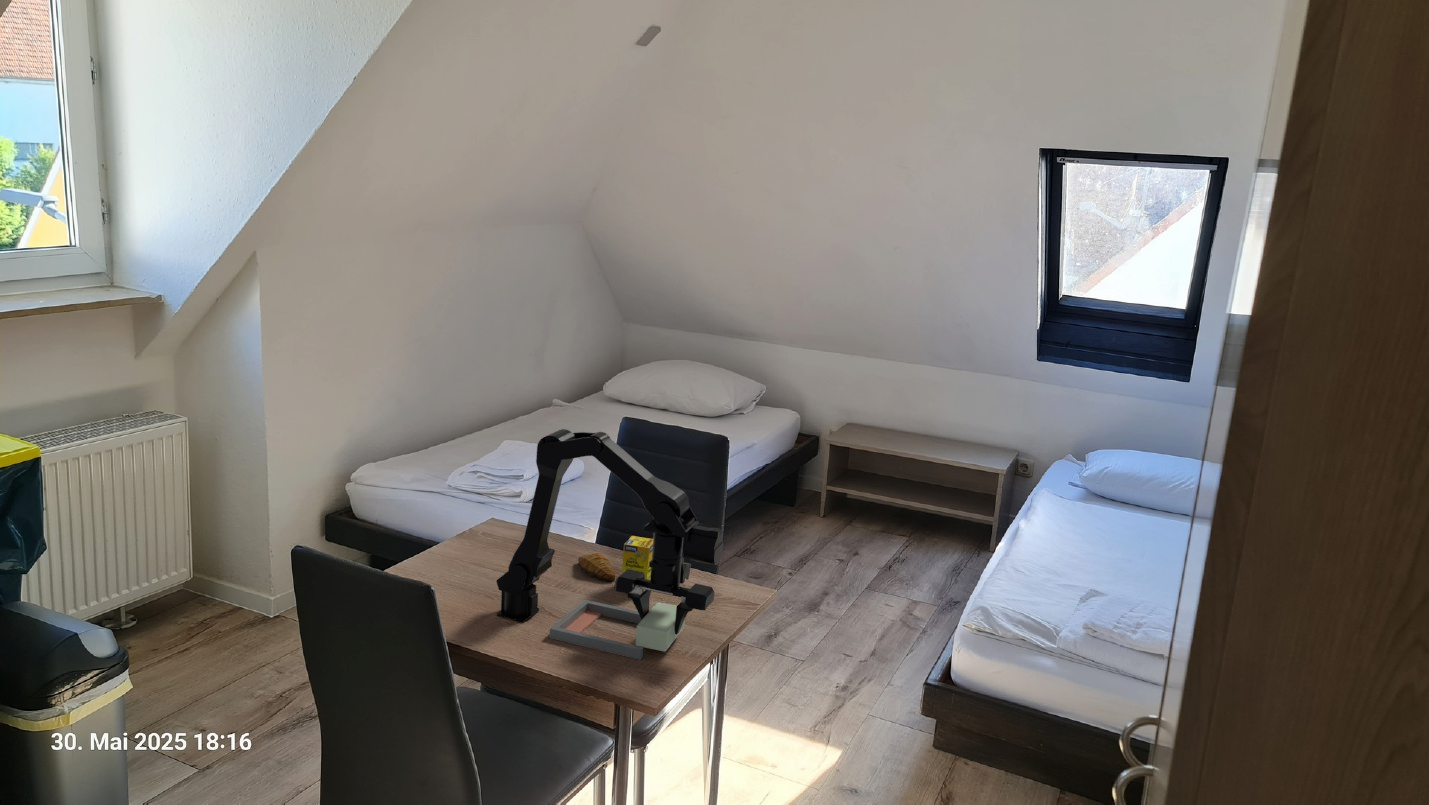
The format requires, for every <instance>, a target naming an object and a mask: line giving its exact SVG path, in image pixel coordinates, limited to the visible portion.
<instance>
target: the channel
mask: <svg viewBox="0 0 1429 805" xmlns="http://www.w3.org/2000/svg"><path fill="white" fill-rule="evenodd" d="M601 616H604V617H608V618H613V619H617V620H619V621H626V622H628V623H629V622H630V623H634V624H637V625H638V624H639V623H640V622H641V621H642V620H641V618H640V615H639V613H638V611H637V610H633V609H628V608H624V607H621V606H614V605H611V604H607V603H602V602H599V601H592V600H589V599H584V600H583V601H582V602H581V603H579V604H578V605H577V606H576V607H575V608H574V609H572V610H570V612H568V613H567V614H566V615H565V616H563V617H562V618H561V619H560V620H558V621H557V622H555V624H553V625H552V626H551V627H549V634H548V635H549V636H548V637H549V639H551V638H552V640H557V641H560V642H565V643H568V644H573V645H576V646H581V647H585V648H589V649H594V650H598V651H601V652H606V653H610V654H615V655H619V656H623V657H626V658H631V659H635V660H639V661H640V660H642V658H643V656H644V647H641V646H636V645H634V644H630V643H626V642H621V641H616V640H612V639H610V638H609V639H608V638H605V637H599V636H596V635H592V634H587V633H584V631H585V630H586V629H587V628H589V627H590V626H591V625H592V624H593V623H595V621H596V620H598V619H599V618H600V617H601Z"/></svg>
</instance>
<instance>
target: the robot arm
mask: <svg viewBox="0 0 1429 805" xmlns="http://www.w3.org/2000/svg"><path fill="white" fill-rule="evenodd" d="M535 456H536V458H535V463H536V467H537V472H538V477H537V482H536V486H535V490H534V495H533V500H532V502H531V507H530V511H529V515H528V518H527V523H526V527H525V532H524V536H523V539H522V541H521V542H520V544H519V545H518V547H517V548H516V550H515V551H514V554H512V558H511V561H510V562H509V564H508V571H507V572H504V574H502V575H501V576H500V577H499V578H497V579H496V580H495V581H496V586H497V589H498V590H499V591H501V594H500V595H501V597H500V598H501V600H500V610H498V611H497V612H496V616H497V617H501V618H504V619H505V618H506V619H509V620H513V621H516V622H517V621H518V622H526V621H527V620H529V619H530V618H532V617H533V616H535V614H537V613H538V612H540V608H539V607H538V602H539V593H538V592H537V584H534V583H536V582H537V581H539V580H540V578H541V576H542V575H544V574H545V573H546V572H547V571H548V570H549V569H550V568H551V567H553V565H552V561H553V556H554V555H555V552H556V549H554V548H550V547H549V542H548V537H549V533H550V530H551V525H552V521H553V518H554V517H553V516H554V515H555V514H554V513H555V509H556V505H557V501H558V498H559V493H560V489H561V485H562V481H563V477H564V476H565V474H566V473H567V471H568V470H569V467H570V466H571V464H572V462H573V460H574V459H576V458H577V459H578V458H584V457H593V458H595V459H596V460H597V461H598V462H599V463H600V464H601V465H603V466H604V467H605V468H606V469H607V470H608V471H610V472H611V473H612V474H613V475H614V476H616V477H617V479H619V480H620V481H621V482H622V483H623V484H624V485H626V486H627V487H628V488H630V489H631V491H633V492H634V493H635V494H636V495H637V496H638V498H640V500H641V502H642V504H643V506H644V509H645V510H646V512H648V514H649V515H650V516H651V517H652V519H651V520H650V521H649V522H648V523H647V524H645V525H644V526H643V528H642V530H643V531H646V532H650V533H653V537H652V539H653V550H652V560H651V561H650V562H649V567H651V578H650V580H647V579H645V574H644V572H640V571H635V570H630V569H627V570H626V571H625V572H624V573H622V572H621V574H620V575H619V576H617V577H615V581H614V591H615V592H617V593H622V594H625V595H626V596H627V599H630V600H631V602H632V603H633V605H634V607H635V609H636V611H638V613H639V615H640V618H641V620H642V619H643V618H644V617H645V616H646V615H647V614H648V613H649V611H650V599H651V598H650V597H651V592H654V593H660V594H664V595H668V596H673V597H678V598H680V600H681V601H680V602H679V604H677V605H676V606H677V607H676V619H675V634H676V635H677V634H678V633H679V631H680V629H681V627H682V624H683V622H684V620H685V621H686V617H687V615H688V613H690V612H692V611H693V610H694V609H695V610H699V611H706V609H707V608H708V607H709V606H710V605H711V604H712V603H713V602H714V600H715V589H714V588H713V587H712V586H709V585H706V584H705V585H704V584H700V583H694V584H693V585H692V586H691V587H690V588H688V587H684V586H680V585H681V584H682V585H683V584H684V583H685V582H686V580H689V579H690V573H691V567H692V563H689V562H685V560H684V559H685V558H686V559H687V560H688V561H693V562H698V563H704V564H709V565H713V566H718V564H719V563H720V561H721V558H722V554H723V550H724V541H723V537H722V534H721V531H722V530H721V528H719V527H707V526H701V525H698V524H699V523H700V522H699V520H698V517H697V515H695V512H694V511H693V509H692V507H691V506H690V501H689V500H690V498H689V496H688V494H687V493H686V492H685V491H683V489H681V488H679V487H677V486H676V485H674V484H672V483H671V482H668V481H666V480H664V479H660V478H658V477H656V476H655V475H653V474H652V473H651V472H650V471H649V470H647V469H646V468H645V467H644V466H643V465H642V464H641V463H639V462H638V461H637V460H636V459H635V458H634V457H632V456H631V455H630V454H629V453H628V452H626V450H624V449H623V448H622V447H620V446H619V444H617V442H615V441H614V440H613V439H612V438H611V437H610V435H609V434H607V433H606V432H605V431H604V432H603V431H597V432H588V431H587V432H586V431H581V432H572V431H570V430H569V429H566V428H565V429H564V428H562V429H558V430H556V431H553V432H552V433H550V434H548V435H546V436H543V437H542V438H540V440H539V441H538V443H537V446H536V454H535ZM681 519H682V520H683V521H681ZM679 634H680V633H679ZM679 634H678V635H679Z"/></svg>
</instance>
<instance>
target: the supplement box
mask: <svg viewBox="0 0 1429 805" xmlns="http://www.w3.org/2000/svg"><path fill="white" fill-rule="evenodd" d="M652 550H653V538H648V537H643V536H642V537H640V536H635V535H631V536H630V537H629V539H628V540H626V542H625V543H624V544H623V551H622V552H623V553H622V568H621V574H622V573H624V572H625V571H626V570H627V569H630V570H635V571H640V572H644V574H645V579H647V580H650V578H651V567H649V562H650V561H651V560H652Z"/></svg>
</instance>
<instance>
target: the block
mask: <svg viewBox="0 0 1429 805" xmlns="http://www.w3.org/2000/svg"><path fill="white" fill-rule="evenodd" d="M677 606H678V605H675V604H669V603H666V602H665V603H664V602H659V601H657V602H656V604H655V605H654V606H653V607H652V608H651V609H649V613H648V614H647V615H646V616H645V617H644V618H643V619H642V621H641V622H640V623H639V624H638V623H637V625H636V633H635V646H639V647H643V648H646V649H651V650H656V651H660V652H666V651H667V650H668V649H669V648H670V647H671V645H672V643H673V642H674V641H675V640H676V638H677V637H678V636H679V634H680V633H681V632H682V630H684V627H685V624H686V619H685V620H684V622H683V624H682V627H681V629H680V631H679V633H678V634H677V635H676V634H675V619H676V607H677Z"/></svg>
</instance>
